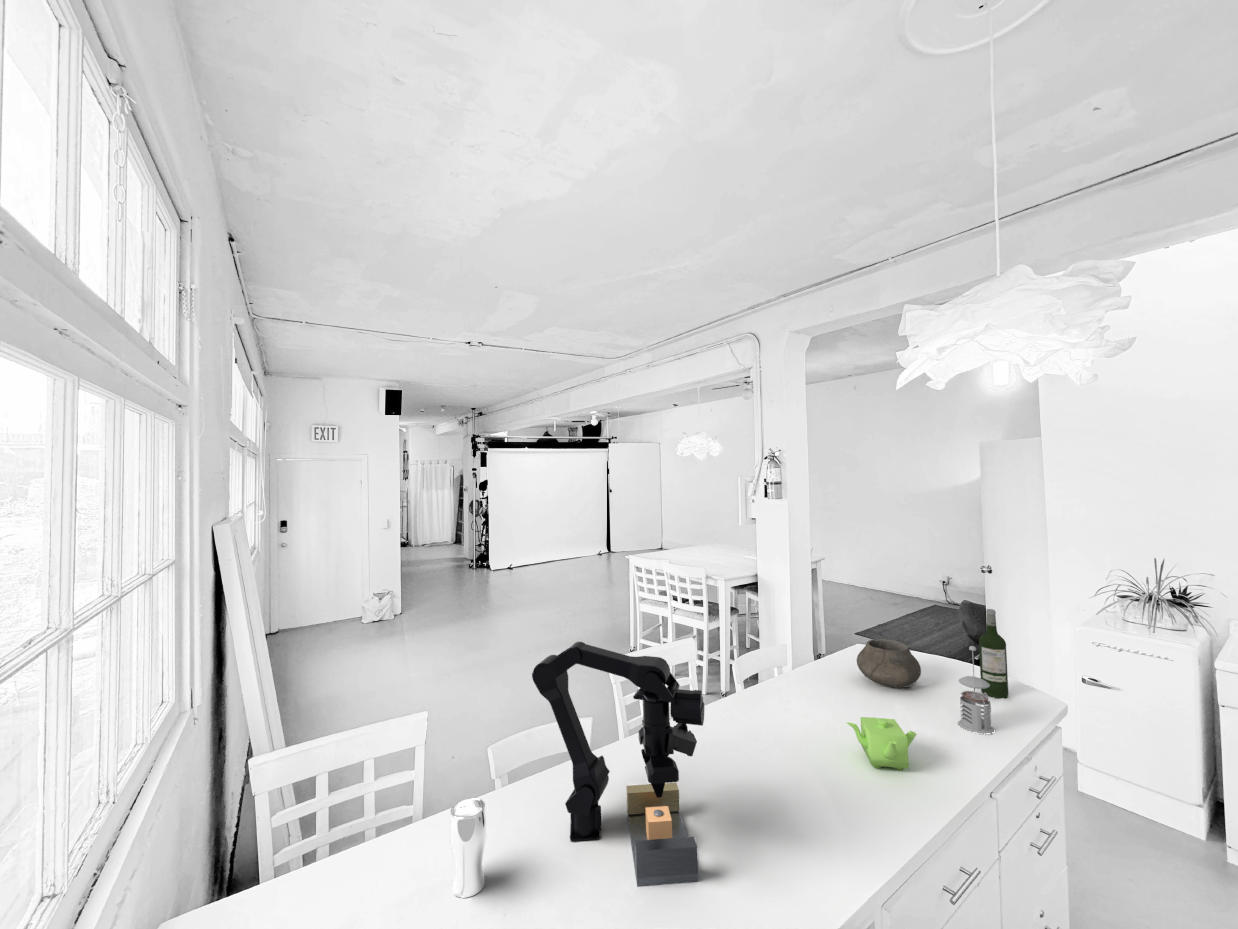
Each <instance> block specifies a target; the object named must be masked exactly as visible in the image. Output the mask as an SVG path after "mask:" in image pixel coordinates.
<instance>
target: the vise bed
mask: <svg viewBox="0 0 1238 929" xmlns="http://www.w3.org/2000/svg"><path fill="white" fill-rule="evenodd" d="M626 815H627V824H628V831H629V836H630V837H629V838H630V845H631V851H632V852H631V853H632V861H633V867H634V868H633V869H634V873H635V880H636V882H635V883H636V887H645V886H646V887H648V886H659V885H670V884H671V885H672V884H684V883H697V882H699V868H698V863H699V862H698V861H699V860H698V846H697V842H696V839H695V836H687V832H686V830H685V826H684V823H683V819H682V816H681V812H680V810H679V811H673V812H670V816H671V820H672V838H667V839H653V840H648V839H647V833H646V813H643V814H628V811H627V810H626Z"/></svg>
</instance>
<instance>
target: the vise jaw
mask: <svg viewBox="0 0 1238 929" xmlns="http://www.w3.org/2000/svg"><path fill="white" fill-rule="evenodd" d="M661 806H668V808H669V812H673V811H679V812H680V789H679V785H678V782H669V783H665V786H664V790H663V794H662V797H660V798H657V797H656V794H655V792H654V790H653V787H652V785H651V783H648V784H635V785H633V784H631V785H626V812H627V811H628V814H643V813H646V807H661Z"/></svg>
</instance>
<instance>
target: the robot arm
mask: <svg viewBox="0 0 1238 929" xmlns="http://www.w3.org/2000/svg"><path fill="white" fill-rule="evenodd" d="M576 665H580V666H583V667H587V668H590V669H592V670H593V669H594V670H598V671H600V672H603V673H607V674H612V675H615V676H618V677H622V678H624V679H626V680H629V682H630V683H632V684H633V685H634V686H635V687H638V688H639V689H637V690H636V692H635V693H634V695H633V697H632V698H633V699H634V700H639V701H642V717H643V719H642V720H641V725H642V727H640V729H639V730H638V743H639V745H642V746H643V748H642V749H641V750H640V751H641V755H642V756H641V757H642V759H643V762H644V764H645V766H644V769H645V774H646V777H647V782H648V784H651V785H652V787H653V790H654V792H655V794H656V797H657V798H660V797H662V794H663V790H664V786H665V783H678V782H679V781H680V779H679V778H680V777H679V776H680V774H679V772H680V771H679V768H678V765H677V763H676V761H675V760H674V759H673V758H672V757H670V756H669V755H674V754H675V753H674V751H675V752H678V753H681V754H685V755H686V756H688V757H693V755H694V754H695V750H696V747H697V742H698V741H697V739H696V736H695V735H694V733H693V732H692V731H691V730H688V728H689V727H688V725H693V726H704V722H705V702H704V697H703V691H702V690H700V689H698V690H697V689H694V690H693V689H692V690H691V689H690V690H689V689H680V686H681V685H680V684H679V682H678V681H677V679H676V678H675V676H674V675H673V674H672V673H671V667H670V665H669V664H668V662H667V660H666V659H665V658H662V657H660V656H649V655H642V656H630V655H627V654H625V653H619V652H616V651H612V650H609V649H605V648H601V647H598V646H594V645H589V644H586V643H585V642H584V641H576V642H574V643H573V644H572V645H570V646H569V647H568V648H566V649H565V650H563V651H562V652H561V653H559V654H558V655H557V654H550V655H548V656H547V657H545V658H544V659H543V660H541V661H540V662H539V663H537V664H536V665H535V667H534V668H533V670H532V673H531V677H532V681H533V684H534V685H535V687H536V688H537V691H538V693H539V694H540V695H541V696H542V697H543V698H544V699H546V700H547V701H548V703H549V705H550V706H551V710H552V712H553V715H554V718H555V720H556V723H557V726H558V728H559V731H560V733H561V737H562V740H563V742H564V745H565V747H566V750H567V752H568V755H569V757H570V760H571V763H572V782H573V787H574V788H573V790H572V792H571V794H570V795H569V797H568V798H567V800H566V802H564V803H565V807H566V811H567V813H569V814H570V827H569V828H570V830H569V831H570V834H569V840H570V842H580V841H581V842H582V841H592V840H599V839H600V838H601V837H600V835H601V834H600V832H602V806H601V805H600V804H599V801H600V799H601V797H602V795H603V794H604V791H605V790H606V789H607V786H608V784H609V781H610V779H609V774H610V773H611V772H610V771H611V770H609V768H608V767H607V764H606V760H605V758H604V756H603V755H600V756H596V755H595V754H594V753H593V752H592V749H591V748H590V744H589V743H588V742H589V741H588V740H587V737H586V735H585V732H584V729H583V726H582V724H581V721H580V718H579V715H578V713H577V710H576V707H575V705H574V702H573V700H572V697H571V696H570V693H569V673H568V670H569V669H571V668H573V667H574V666H576ZM670 717H671V718H672V721H673V722H675V723H677V724H675V725H673V726H671V722H670Z"/></svg>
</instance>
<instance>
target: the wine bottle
mask: <svg viewBox="0 0 1238 929" xmlns="http://www.w3.org/2000/svg"><path fill="white" fill-rule="evenodd" d="M985 613H986V631H985V632H984V633H983V634H982V635H980V637H979V638H978V648H979V670H980V671H979V672H980V673H979V674H980V678H981V679H983V680H985V681H986V682H988V683H989V684H990V686H989V687H988V688H986V689H980V691H981V694H982V693H983V694H984V693H986V694H987V695H988V697H989V698H993V697H994V698H995V699H999V698H1004V699H1007V698H1009V680H1008V678H1009V677H1008V659H1007V642H1006V640H1005V639H1004V638H1003V637H1002V636H1001V635H1000V634H999V633H998V628H997V619H996V614H997V613H996V610H995V609H992V608H987V609H986V610H985ZM986 694H985V695H986ZM987 695H986V696H987Z"/></svg>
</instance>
